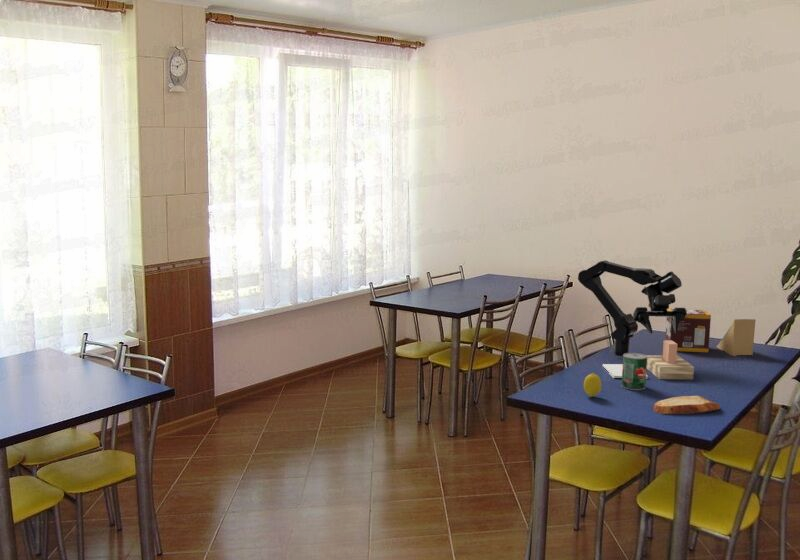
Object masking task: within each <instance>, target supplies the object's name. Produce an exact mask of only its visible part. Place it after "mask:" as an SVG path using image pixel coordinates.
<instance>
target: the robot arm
mask: <svg viewBox="0 0 800 560" xmlns="http://www.w3.org/2000/svg"><path fill="white" fill-rule="evenodd" d="M604 273H609V274H613V275H617V276H619V277H620V276H621V277H624V278H628V279H630V280H631V281H632V282H634V283H637V284H638V285H641V286H644V287H643V289H641V291H640V293H642V294H644V295H645V296H647V300H648V307H646V306H645V307H644V306H637V307H635V309H634V311H633V314H632V313H624V311H623V310H622V309H621V308H620V306H619V305H618V304H617V303H616V301H615V300H614V299H613V297H612V296H611V295H610V293H609V292H608V291H607V289H606V288H605V287H604V285H603V284H602V279H601V276H602V275H603V274H604ZM577 275H578V277H577V281H578V282H579V283H580V284H581V285H582V286H583V287H584V288H586V289H587V290H588V291H591V293H592V294H593V295H594V296H595V298H596V299H597V300H598V301H599V302H600V304H601V305H602V307H603V308H604V309H605V311H606V312H607V313H608V315H609V317H611V318H612V320H613V324H614V327H615V330H613V331H612V332H610V335H611V336H610V337H611V339H612V340H614V349H611V352H612V353H613V354H615V355H617V356H619V355H620V356H623V354H625V353H632V352H631V351H630V344H631V343H630V342H631V338H633V337H634V335H635V334H636V333H637V332H638V330H639V329H638V328H639V325H638V323H639V324H641V325H642V326H643V328H645V329H646V331H648V332H649V334H650V335H651V334H653V328H652V324H651V321H650V317H656V318H657V317H659V318H660V317H661V318H667V317H671V318H672V320H673V321H672V324H673V328H674V332H675V334H677V331H678V325H679V323H680V322H681V321H683V320H684V318H685V316H686V314H687V311H686V310H687V309H686V308H685V307H677V306H676V307H674V308H673V309H674V310H673V311H667V309H670V305H671V304H674V303H676V295H675V293H672V292H673V291H676V290H677V289H679V288H681V287H682V285H683V284H682V281H681V278H680V277H679V276H677V274H675V273H674V272H673V271H668V272H667V273H666V274H665V275H663V276H662V275H660V274H657V273H656V272H655V270H653V269H652V268H642V267H641V268H637V267H630V266H626V265H624V264H619V263H615V262H612V261H608V260H601V261H598V262H596V264H593V265H592V266H591V267H588V268H587V269H582V270H581V271H579V273H578V274H577ZM646 285H647V286H646ZM664 293H666V294H667V295H666V294H664ZM648 308H649V309H650V310H648Z"/></svg>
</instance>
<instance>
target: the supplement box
mask: <svg viewBox="0 0 800 560" xmlns="http://www.w3.org/2000/svg"><path fill="white" fill-rule="evenodd" d="M673 310H674V308H669V309H667V311H673ZM686 311H687V314H686V316H685V318H684V320H683V321H681V322H680V323H679V325H678V331H677V334H675V332H674V328H673V324H672V321H673V320H672V318H671V317H666V320H665V336H664V337H665V340H672V341H674V342H675V343H677V344H678V345H677V352H689V353H691V352H692V353H693V352H694V353H709V349H710V348H709V347H710V334H711V333H710V332H711V321H712V320H711V319H712V318H711V317H712V315H711V314H710V313H708V312H707V311H706V310H704V309H686Z"/></svg>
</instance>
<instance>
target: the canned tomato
mask: <svg viewBox="0 0 800 560" xmlns="http://www.w3.org/2000/svg"><path fill="white" fill-rule="evenodd" d="M622 356H623V357H622V364H623V369H622V379H621V387H622V388H623V387H624V388H623V389H625V388H626V390H629V389H630V391H643V390H645V389H646V385H647V384H646V383H647V379H646V375H647V370H648V369H647V356H646V354H644V353H639V352H631V353H625V354H623V355H622ZM642 389H643V390H642Z"/></svg>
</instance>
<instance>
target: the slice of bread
mask: <svg viewBox="0 0 800 560" xmlns="http://www.w3.org/2000/svg"><path fill="white" fill-rule="evenodd" d="M720 409H721V406H720V404H719V403H717V402H715V401H714V402H713V401H711V400H709V399H708V398H705V397H703V396H701V395H681V396H674V397H669V398H665V399H660V400H658V401H657V402H655V403H654V404H653V406H652V410H654V411H653V412H654V413H656V414H661V415H680V414H681V415H687V414H688V415H689V414H690V415H691V414H700V413H701V414H703V413H710V412H716V411H718V410H720Z"/></svg>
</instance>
